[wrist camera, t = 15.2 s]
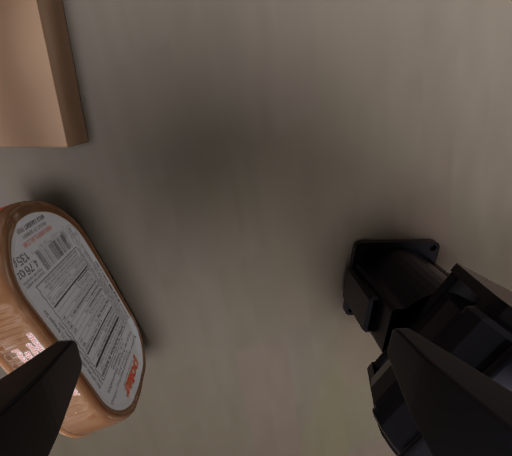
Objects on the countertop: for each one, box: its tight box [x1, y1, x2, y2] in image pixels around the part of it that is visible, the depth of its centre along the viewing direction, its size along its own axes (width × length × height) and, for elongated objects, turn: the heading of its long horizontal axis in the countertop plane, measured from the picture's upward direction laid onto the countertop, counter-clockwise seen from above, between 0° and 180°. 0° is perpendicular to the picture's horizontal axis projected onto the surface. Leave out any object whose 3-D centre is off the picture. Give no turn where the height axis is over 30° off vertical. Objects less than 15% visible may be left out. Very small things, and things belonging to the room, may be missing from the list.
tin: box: [0, 201, 146, 438], centre depth 18 cm, size 15×3×8 cm, turn 16°
